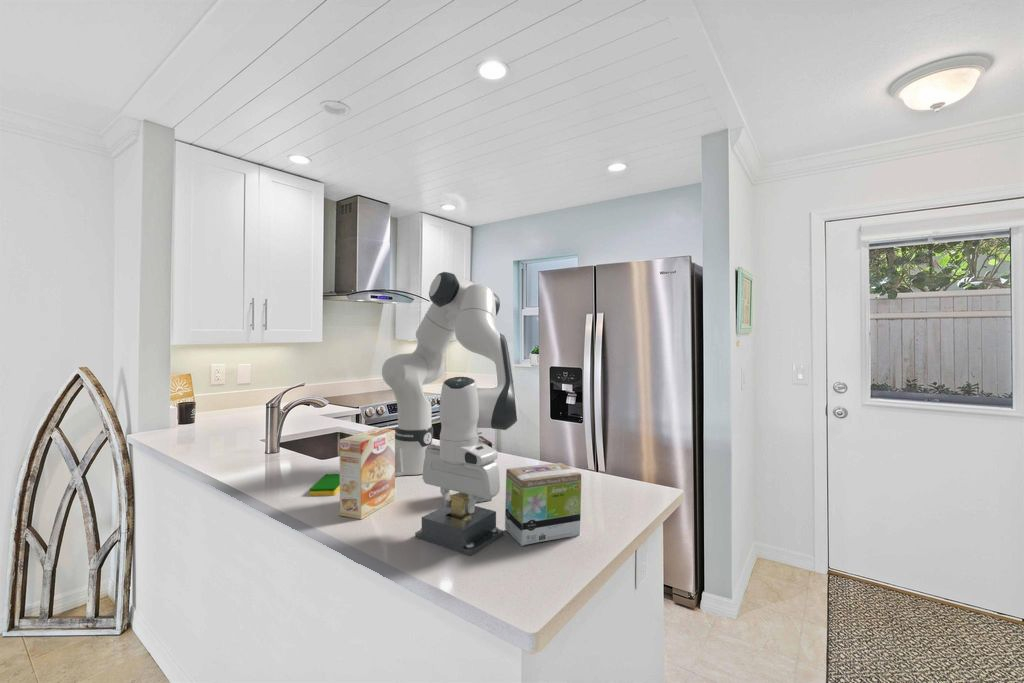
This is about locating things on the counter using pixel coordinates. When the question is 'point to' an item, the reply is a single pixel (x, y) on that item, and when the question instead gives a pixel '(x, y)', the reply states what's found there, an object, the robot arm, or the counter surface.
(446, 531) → the grey square socket block
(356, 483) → the coffeecake box
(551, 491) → the tea box
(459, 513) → the wooden square peg
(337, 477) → the dish sponge
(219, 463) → the counter surface
